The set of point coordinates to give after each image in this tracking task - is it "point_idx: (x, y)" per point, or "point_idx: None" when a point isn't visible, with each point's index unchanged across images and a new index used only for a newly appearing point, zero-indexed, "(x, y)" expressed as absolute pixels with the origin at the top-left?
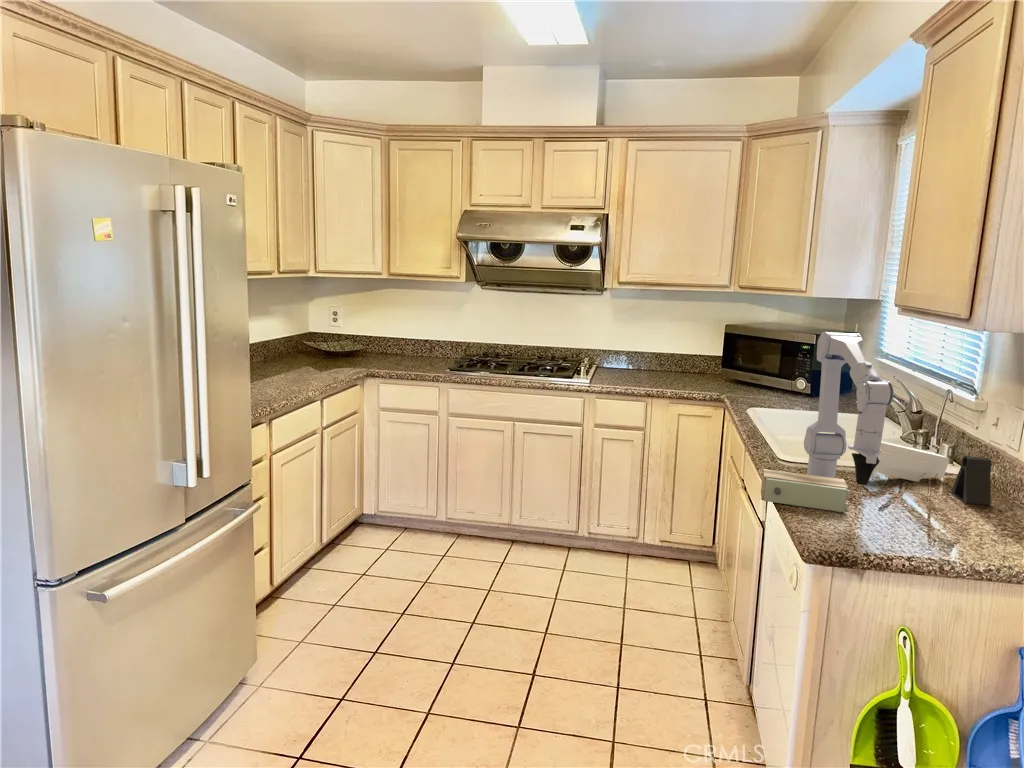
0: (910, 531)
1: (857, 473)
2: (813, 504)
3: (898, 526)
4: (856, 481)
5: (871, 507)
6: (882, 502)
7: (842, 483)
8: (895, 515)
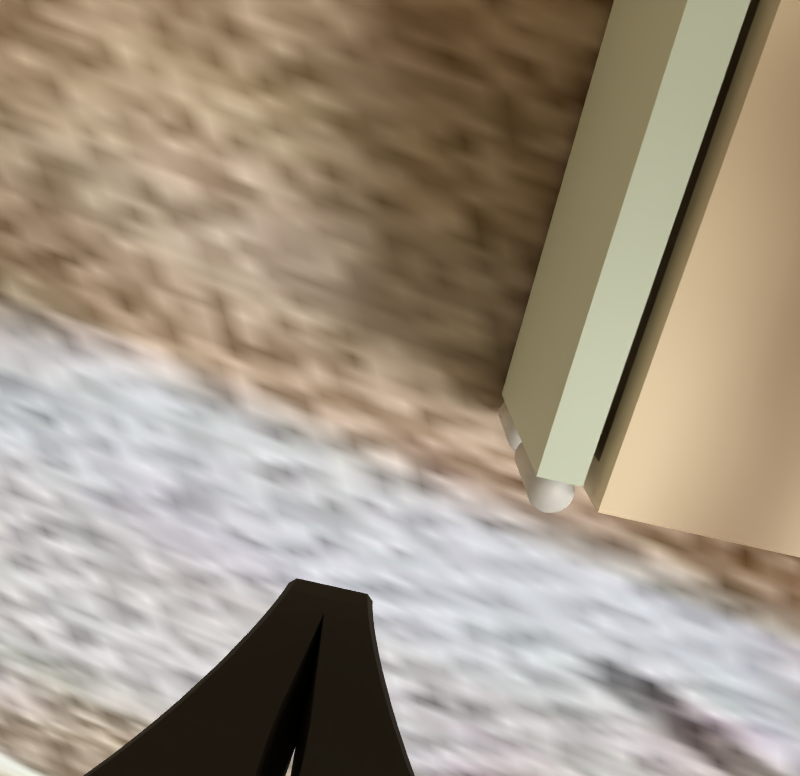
0: None
1: (202, 685)
2: (579, 147)
3: None
4: (356, 598)
5: (663, 642)
6: (774, 751)
7: (752, 507)
8: (523, 725)
